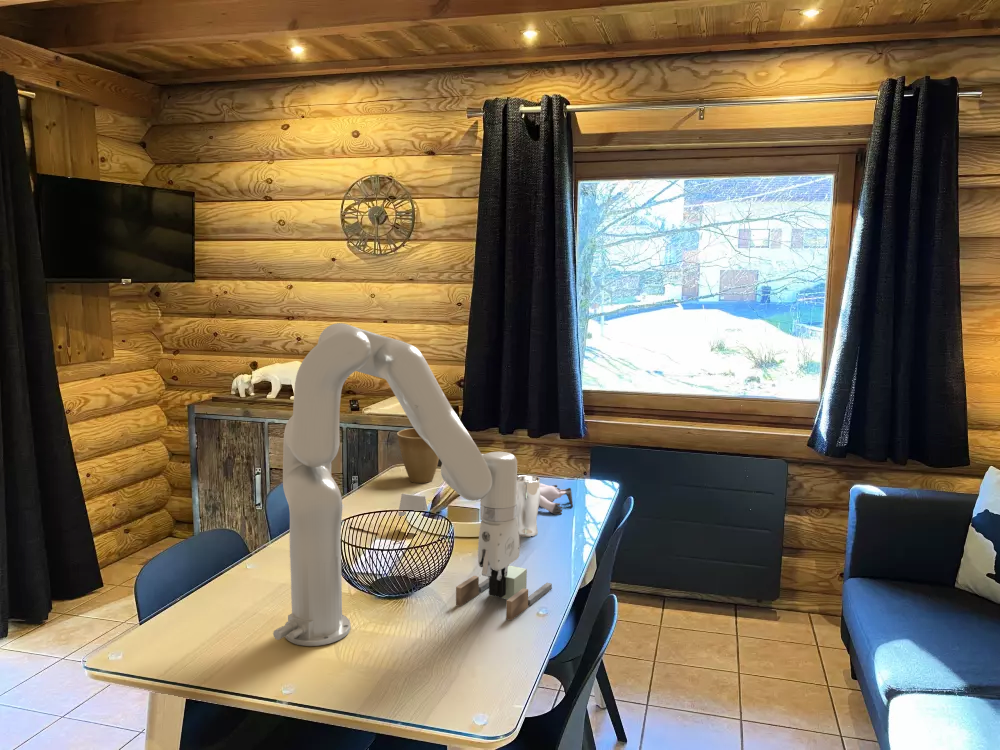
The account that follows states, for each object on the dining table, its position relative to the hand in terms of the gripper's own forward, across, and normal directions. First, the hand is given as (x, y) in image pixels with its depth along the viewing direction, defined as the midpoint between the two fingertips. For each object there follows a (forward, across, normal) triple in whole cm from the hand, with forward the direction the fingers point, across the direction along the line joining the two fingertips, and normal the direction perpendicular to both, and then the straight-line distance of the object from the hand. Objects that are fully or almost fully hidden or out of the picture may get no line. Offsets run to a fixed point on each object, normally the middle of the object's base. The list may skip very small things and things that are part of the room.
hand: (497, 595), depth 166 cm
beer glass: (+2, +40, +15) cm, 43 cm away
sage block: (+2, +5, 0) cm, 6 cm away
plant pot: (+2, +65, +68) cm, 94 cm away
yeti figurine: (+2, +65, +24) cm, 69 cm away
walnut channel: (+2, -2, 0) cm, 3 cm away
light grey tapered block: (+2, +25, +41) cm, 48 cm away
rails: (+2, +7, 0) cm, 8 cm away
